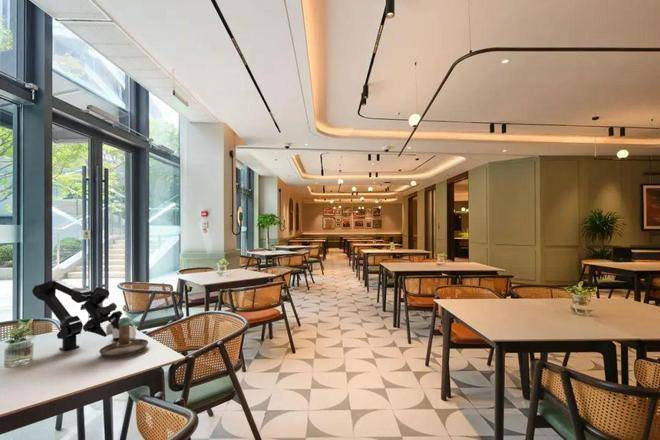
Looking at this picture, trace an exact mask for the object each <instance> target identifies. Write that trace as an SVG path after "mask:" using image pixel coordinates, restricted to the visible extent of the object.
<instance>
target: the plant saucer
mask: <svg viewBox="0 0 660 440" xmlns="http://www.w3.org/2000/svg"><path fill="white" fill-rule="evenodd" d="M129 341H131V342H132V345H131V346H129V347H125V348H117V343H119V341H117V342H116V341H115V342H113V343H110V344H107V345H105V346H103V347H101V348H100V349H99V351H98V352H99V354H100V355H101V356H103V357H104V358H106V359H121V358H123V359H124V358H126V357H130V356H134V355H136V354H139V353H141V352H142V351H143V350H144V349H145V348H146V347H147V346H148V344H149V341H148V340H147V339H142V338H133V339H129Z"/></svg>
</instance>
